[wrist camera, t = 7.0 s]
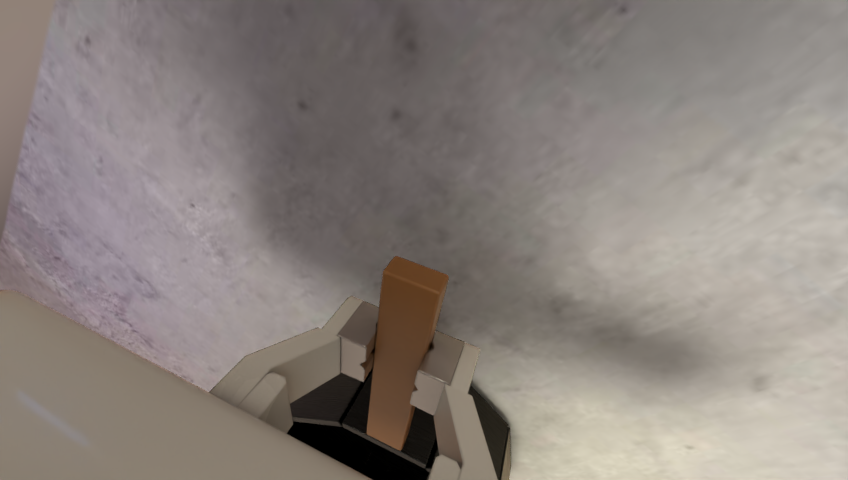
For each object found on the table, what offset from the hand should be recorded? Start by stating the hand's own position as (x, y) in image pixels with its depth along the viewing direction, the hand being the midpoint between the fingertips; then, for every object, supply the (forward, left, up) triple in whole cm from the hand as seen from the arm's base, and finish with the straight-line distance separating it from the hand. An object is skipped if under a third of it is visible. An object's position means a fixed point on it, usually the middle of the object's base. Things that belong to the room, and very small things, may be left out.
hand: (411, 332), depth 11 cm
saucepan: (+3, -7, -3) cm, 8 cm away
